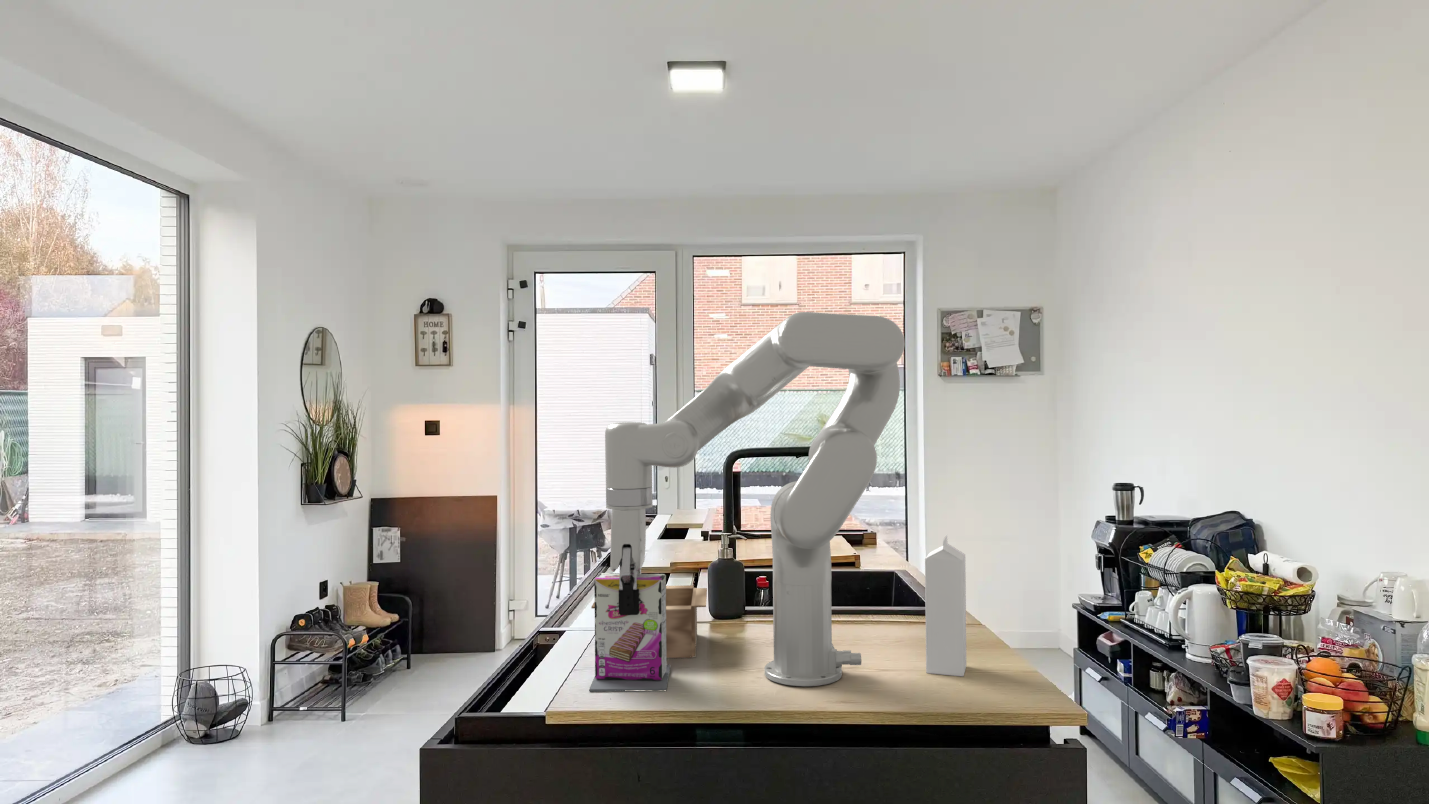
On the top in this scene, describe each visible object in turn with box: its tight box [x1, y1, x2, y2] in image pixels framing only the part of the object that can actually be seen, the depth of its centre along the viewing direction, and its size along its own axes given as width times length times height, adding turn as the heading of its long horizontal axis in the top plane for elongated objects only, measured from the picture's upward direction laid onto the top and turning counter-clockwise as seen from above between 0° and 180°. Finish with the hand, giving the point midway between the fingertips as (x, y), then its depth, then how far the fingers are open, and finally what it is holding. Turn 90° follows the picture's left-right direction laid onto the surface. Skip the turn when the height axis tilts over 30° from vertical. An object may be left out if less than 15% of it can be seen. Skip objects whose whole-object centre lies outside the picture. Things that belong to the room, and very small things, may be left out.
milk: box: [924, 534, 967, 677], centre depth 146 cm, size 6×6×22 cm
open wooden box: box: [591, 584, 708, 659], centre depth 162 cm, size 20×19×9 cm
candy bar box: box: [593, 572, 668, 680], centre depth 143 cm, size 11×5×16 cm, turn 84°
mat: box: [588, 664, 671, 693], centre depth 143 cm, size 12×12×1 cm
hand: (631, 608), depth 143 cm, fingers closed on candy bar box, 5 cm apart
